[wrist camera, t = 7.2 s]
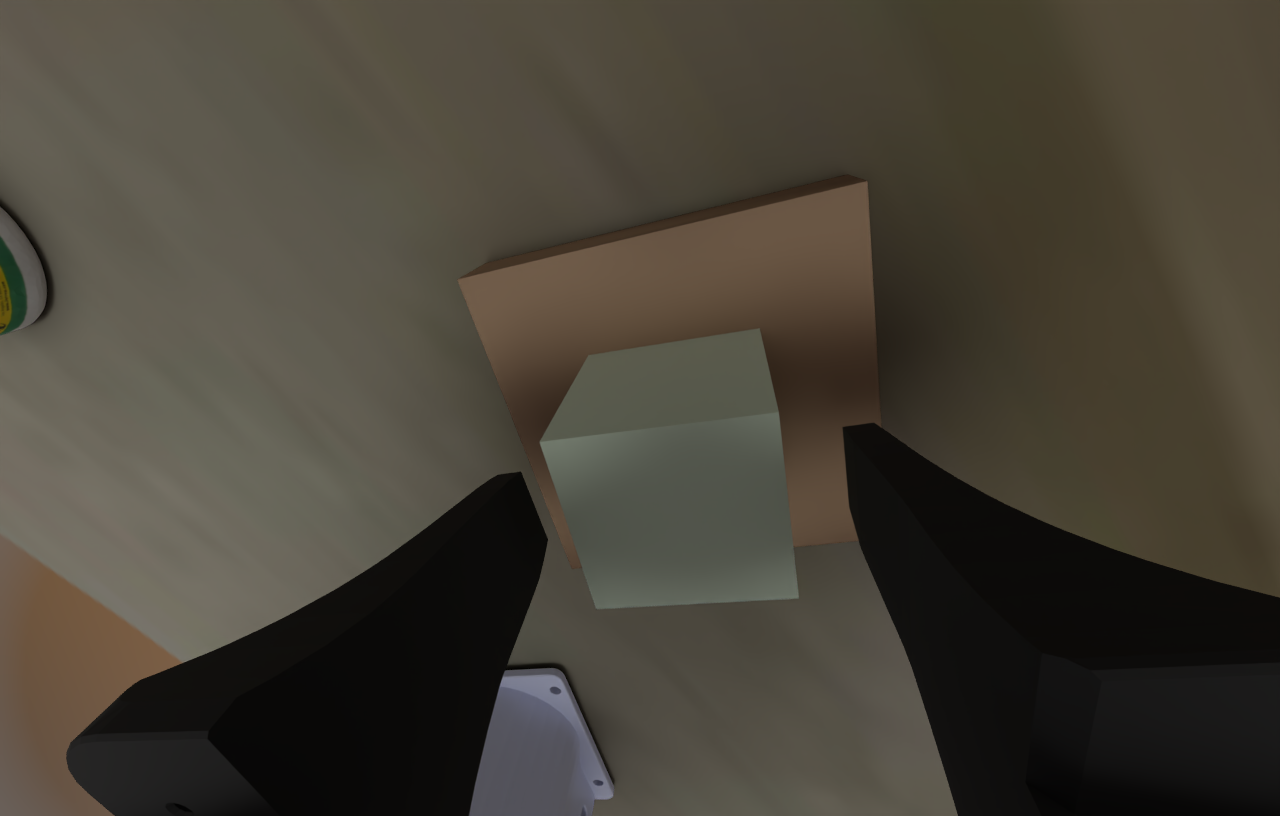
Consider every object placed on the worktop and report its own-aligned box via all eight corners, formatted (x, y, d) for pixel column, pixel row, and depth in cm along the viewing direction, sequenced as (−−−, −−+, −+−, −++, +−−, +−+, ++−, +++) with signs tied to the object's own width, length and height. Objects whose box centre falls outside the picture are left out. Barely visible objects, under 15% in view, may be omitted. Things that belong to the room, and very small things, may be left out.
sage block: (777, 476, 15) (799, 598, 11) (625, 491, 16) (596, 609, 12) (759, 328, 13) (778, 412, 9) (588, 355, 14) (539, 442, 10)
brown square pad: (866, 487, 18) (887, 537, 16) (587, 520, 20) (572, 568, 18) (843, 172, 14) (867, 181, 11) (493, 259, 16) (457, 279, 14)
